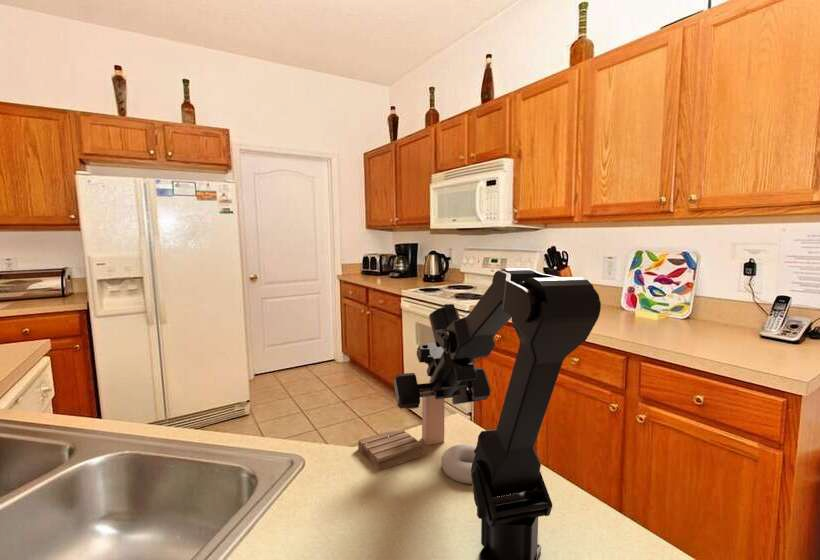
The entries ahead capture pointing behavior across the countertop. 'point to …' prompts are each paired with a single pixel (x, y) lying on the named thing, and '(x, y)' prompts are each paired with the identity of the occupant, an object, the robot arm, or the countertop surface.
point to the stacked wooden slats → (390, 448)
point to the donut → (459, 462)
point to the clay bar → (433, 420)
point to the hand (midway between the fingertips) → (432, 404)
